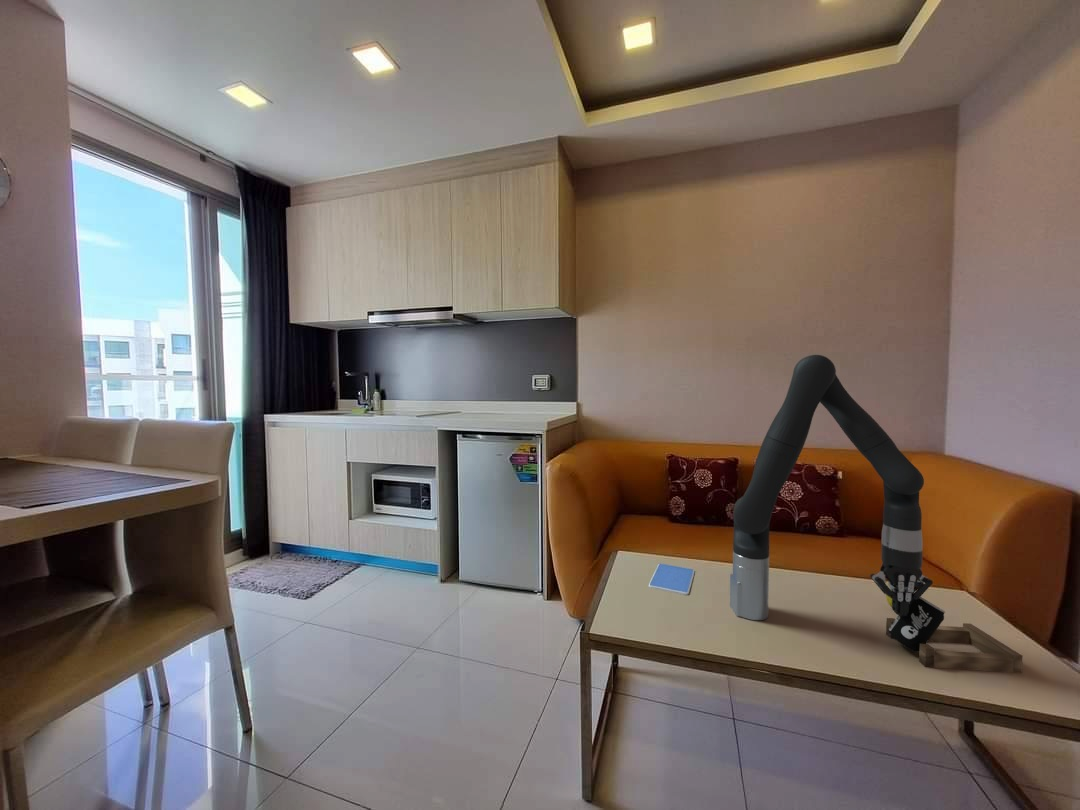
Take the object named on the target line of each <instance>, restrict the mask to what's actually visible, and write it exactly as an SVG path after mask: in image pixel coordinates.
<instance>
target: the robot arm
mask: <svg viewBox="0 0 1080 810" xmlns="http://www.w3.org/2000/svg"><path fill="white" fill-rule="evenodd" d="M792 372H793V373H792V377H791V381H790V383H789V387H788V389H787V390H788V391H787V393H786V397H785V398H784V401H783V403H782V404H781V407H780V408H779V410H778V412H777V414H776V415H775V416H774V418H773V420H772V422H771V424H770V426H769V428H768V430H767V432H766V434H765V436H764V438H763V440H762V443H761V445H760V447H759V450H758V453H757V457H756V460H755V462H754V468H753V471H752V475H751V479H750V482H749V484H748V486H747V488H746V491H745V492H744V494H743V496H741V497H740V498H738V499H737V500H736V501H735V504H734V507H733V511H732V517H733V537H732V540H733V541H732V545H733V546H732V573H730V574H729V606H730V608H731V609H732V611H733V612H734V614H735V615H736V616H737V617H740V618H741V617H742V618H745V619H748V620H752V621H762V620H766V619H768V617H769V582H770V579H769V578H770V522H771V519H772V515H773V513H774V509H775V505H776V503H777V499H778V497H779V494H780V492H781V490H782V489H783V487H784V485H785V483H786V482H787V480H788V478H789V476H790V475H791V473H792V470H793V469H794V468H795V465H796V463H797V462H798V460H799V458H800V455H801V452H802V451H803V448H804V446H805V444H806V440H807V439H808V435H809V432H810V428H811V425H812V421H813V418H814V414H815V412H816V409H817V407H819V406H818V405H819V404H821V405H822V406H823V407H824V408H825V409H826V410H827V412H828V413H829V414H830V415H831V416H832V418H833V420H834V421H835V422H836V423H837V424H838V426H839V428H840V429H841V430H842V431H843V434H845V436H847V438H848V440H849V441H850V442H851V443H852V444H853V446H854V447H855V448H856V449H857V450H858V451H859V452H860V454H861V455H862V456H863V457H864V458H865V459H866V460H867V461H868V462H869V463H870V465H871V466H872V467H873V469H874V471H876V473H877V474H878V476H879V477H880V478H881V480H882V482H883V483H882V486H883V497H884V498H883V499H884V504H883V509H882V510H883V511H882V512H883V514H882V517H883V518H882V529H881V539H880V540H881V546H880V547H881V548H880V549H881V550H880V551H881V553H880V559H881V562H882V564H881V566H880V569H879V572H877V573H871V574H870V575H869V578H871V580H872V581H873V582H874V583H875V585H876V586H877V587H878V588H879V589H880V590H881V592H882V593H883V594H884V595H885V596H886V595H887V596H889V597H890V598H892V607H891V609H892V611H894V613H895V614H896V615H897V616H898V615H899V616H907V614H908V612H909V602H910V601H911V599H916V600H917V599H919V598H920V597H922V596H923V594H925V592H927V590H928V589H929V588H930V587H931V586H932V585H933V583H934V582H933V580H932V579H930V578H928V577H927V576H925V575H924V574H923V570H922V569H921V568H922V567H923V543H924V541H923V533H922V518H923V517H922V515H923V514H922V509H921V505H920V491H921V490H922V489H923V487H924V484H925V479H924V476H923V474H922V473H921V471H920V470H919V469H918V468H917V467H916V466H915V465H914V464H913V463H912V462H911V461H910V460H909V459H908V458H907V457H906V456H905V454H903V453H902V451H900V450H899V448H898V447H897V445H896V444H895V442H894V441H893V440H892V438H891V437H890V436H889V435H888V433H887V432H886V431H885V430H884V428H883V427H881V426H880V424H879V423H878V422H877V421H876V420H875V419H874V418H873V417H872V415H870V414H869V413H868V412H867V411H866V410H865V409H864V408H863V407H862V406H861V405H860V404H859V403H858V402H857V401H856V400H855V399H854V398H853V397H852V396H851V395H850V394H849V392H848V391H847V390H846V388H845V387H844V386H843V384H842V382H841V381H840V379H839V377H838V375H837V370H836V366H835V364H834V362H833V361H832V360H831V359H830V358H828V357H827V356H825V355H822V354H811V355H807V356H805V357H803V358H801V359H800V360H799V361H798V362H797V363H796V364H795V365H794V368H793V371H792ZM887 582H888V585H887V584H886V583H887ZM889 587H890V589H889Z"/></svg>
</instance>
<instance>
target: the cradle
mask: <svg viewBox="0 0 1080 810" xmlns="http://www.w3.org/2000/svg"><path fill="white" fill-rule="evenodd" d="M895 620H896V618H895V617H886V625H885V626H886V627H885V629H886V630H885V635H886V636H887V637H889V638H890V639H894V638H893V637H891V636H890V635H889V631H888V630H889V628H890V627H891V625H892V624H893V622H894V621H895ZM894 640H895V639H894ZM928 641H930V642H931V641H932V642H950V643H968V644H969V645H972V646H973V647H974V648H976V649H978V650H979V651H980V652H974V651H973V652H971V651H955V650H939V649H938V650H937V649H935V648H934V647H933V646H932V645H931V644H929V643H926V644H920V649H919V652H918V653H919V654H918V655H919V656H918V662H919V663H920V664H921V665H922V666H923V667H925V668H936V669H937V668H939V669H954V670H956V669H957V670H971V671H972V670H973V671H983V672H984V671H986V672H1003V673H1016V674H1017V673H1019V674H1022V673H1023V655H1022V654H1020V653H1019V652H1018V651H1016V650H1014V649H1012V648H1011V647H1009V646H1008V645H1006V644H1004V643H1003V642H1001V641H999V640H998V639H997V638H995V637H993V636H992V635H990V634H988V633H987V632H986V631H983V630H982V629H980V628H979V627H977V626H976V625H974V624H972V623H966V622H963V623H962V626H950V625H939V627H938V628H937V629H936V631H935V632H934V633H933V635H932V636H931V638H930V639H929V640H928Z"/></svg>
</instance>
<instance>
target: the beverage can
mask: <svg viewBox="0 0 1080 810" xmlns="http://www.w3.org/2000/svg"><path fill="white" fill-rule="evenodd" d="M945 614H946V611H945V610H944V609H941V608H940V607H939V606H937V605H936V604H934V603H933V602H931V601H929V600H927V599H925V598H924V597H922V596H921V597H920V598H919V599H917V600H916V599H911V601H910V602H909V612H908V614H907V616H899V615H897V617H896V618H895V619H896V620H895V621H894V622H893V624H892V625H891V627H890V628H889V630H888V631H889V635H890V636H891V637H893V638H894V640H895V641H896V642H898V643H899V644H900V645H902V646H903V647H905V648H907V649H909V650H910V651H911V652H913V653H917V652H918V653H919V649H920V644H928V640H929V639H930V638H931V636H932V635H933V633H934V632H935V631H936V629H937V628H938V627H939V626H941V624H942V623H943V621H944V619H945Z"/></svg>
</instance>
